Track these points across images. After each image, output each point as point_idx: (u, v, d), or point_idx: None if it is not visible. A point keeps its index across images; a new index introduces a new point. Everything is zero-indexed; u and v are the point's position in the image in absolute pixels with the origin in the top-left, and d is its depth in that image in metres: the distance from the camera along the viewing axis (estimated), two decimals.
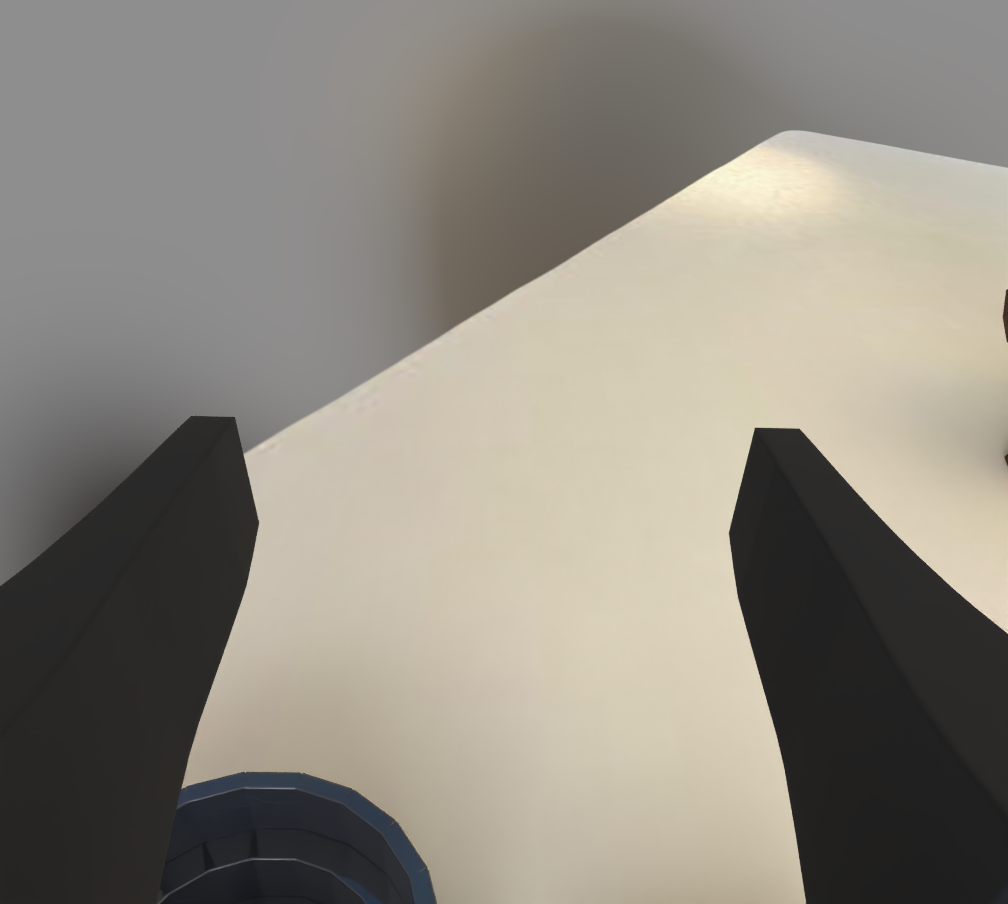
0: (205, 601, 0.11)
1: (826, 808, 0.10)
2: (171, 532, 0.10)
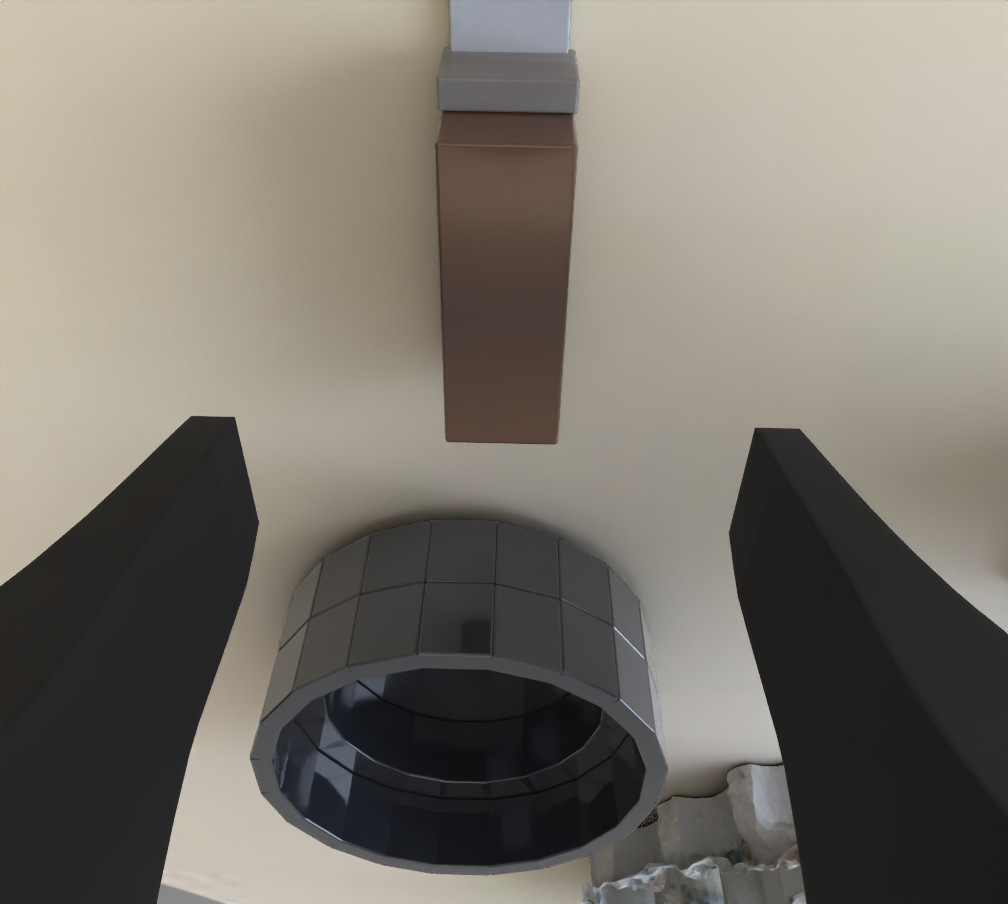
0: (205, 601, 0.11)
1: (826, 808, 0.10)
2: (171, 532, 0.10)
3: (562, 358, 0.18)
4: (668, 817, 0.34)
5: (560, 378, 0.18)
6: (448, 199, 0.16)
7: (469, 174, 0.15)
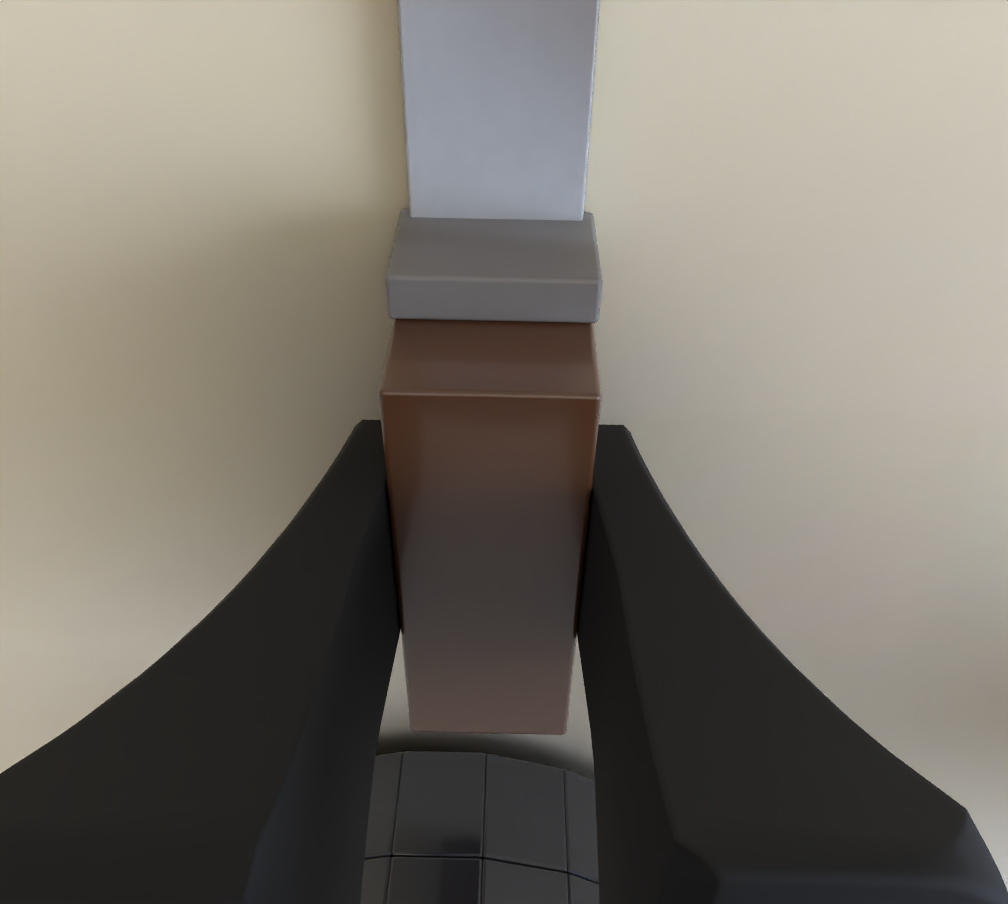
0: (388, 605, 0.11)
1: (607, 803, 0.10)
2: (374, 536, 0.10)
3: (574, 645, 0.12)
4: None
5: (570, 666, 0.13)
6: (403, 463, 0.10)
7: (433, 432, 0.10)
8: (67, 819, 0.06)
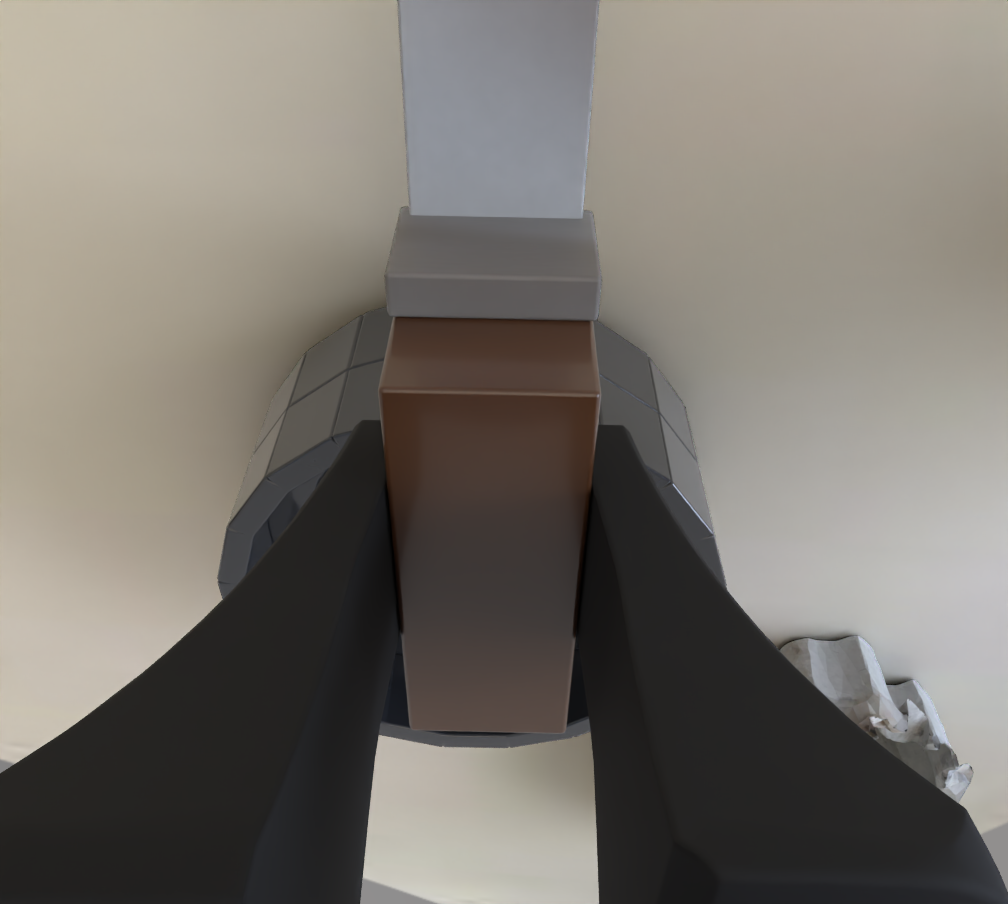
0: (387, 605, 0.11)
1: (607, 803, 0.10)
2: (374, 536, 0.10)
3: (573, 643, 0.12)
4: None
5: (570, 665, 0.13)
6: (402, 460, 0.10)
7: (433, 430, 0.10)
8: (68, 819, 0.06)
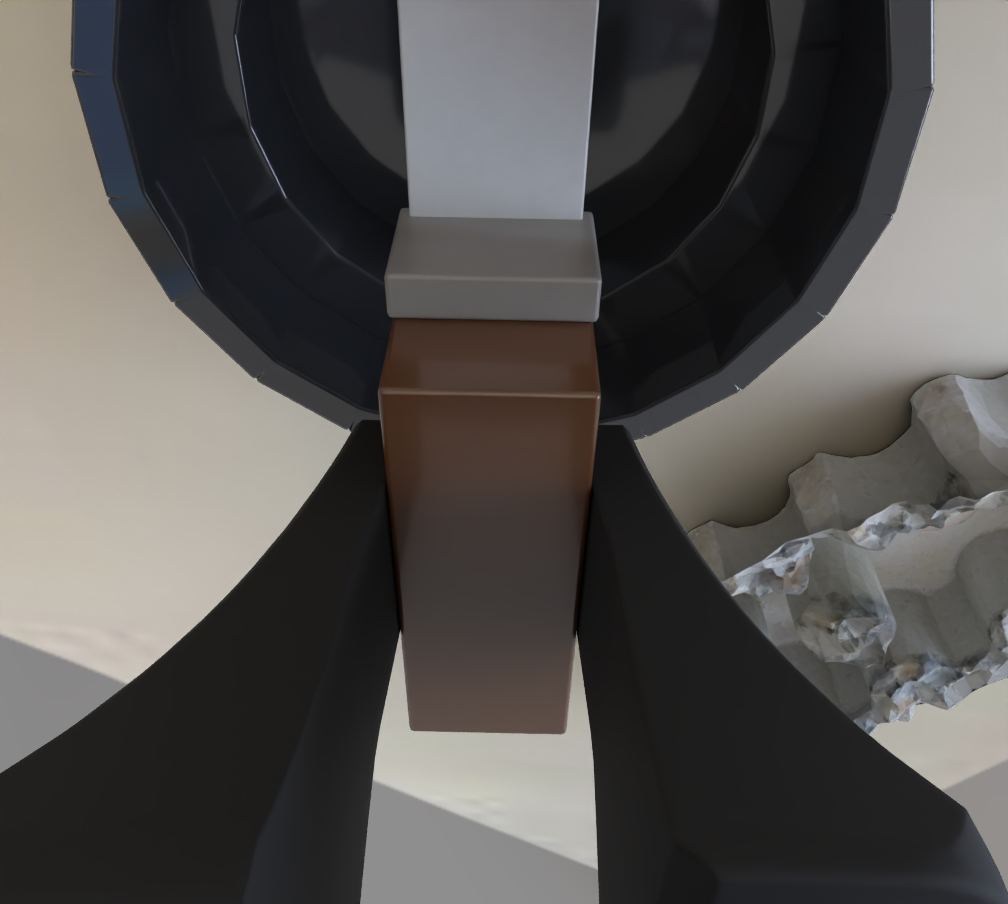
0: (388, 605, 0.11)
1: (607, 803, 0.10)
2: (374, 536, 0.10)
3: (573, 644, 0.12)
4: (812, 480, 0.22)
5: (570, 665, 0.13)
6: (402, 462, 0.10)
7: (433, 432, 0.10)
8: (68, 819, 0.06)
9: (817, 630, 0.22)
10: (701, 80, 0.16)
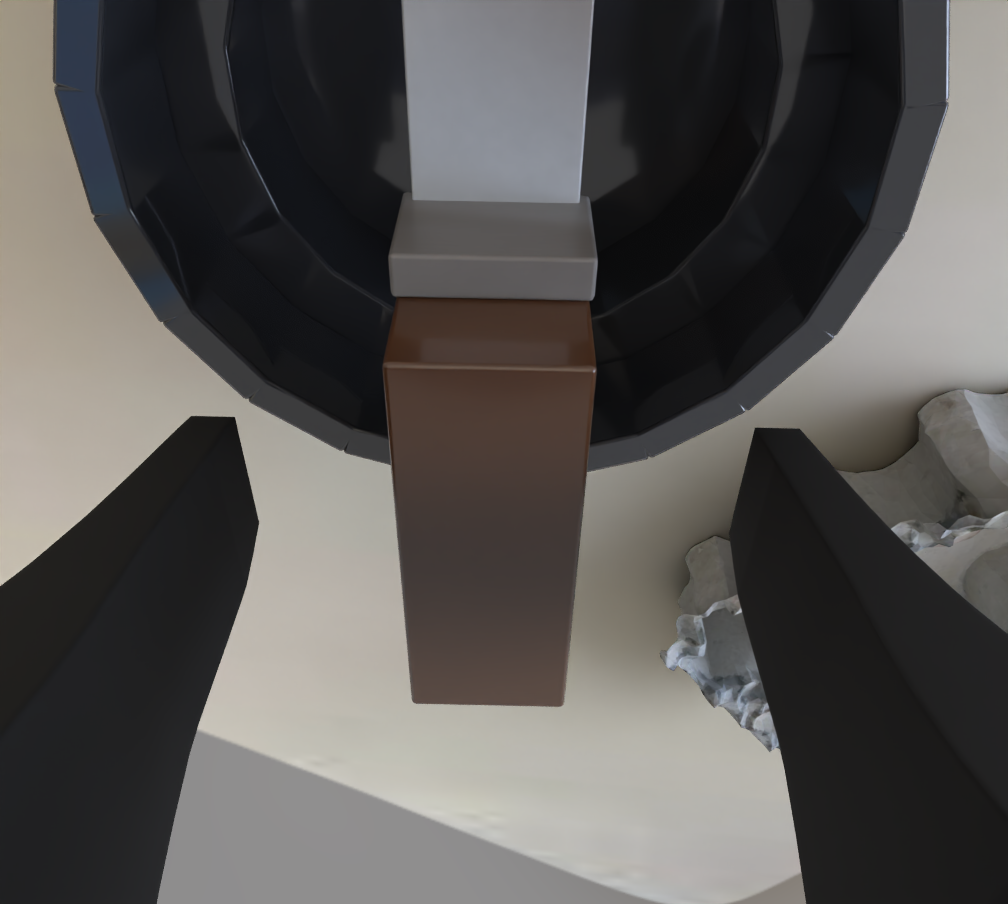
0: (205, 601, 0.11)
1: (826, 808, 0.10)
2: (171, 532, 0.10)
3: (571, 616, 0.13)
4: None
5: (568, 638, 0.13)
6: (405, 435, 0.11)
7: (435, 404, 0.10)
8: None
9: None
10: (705, 91, 0.15)
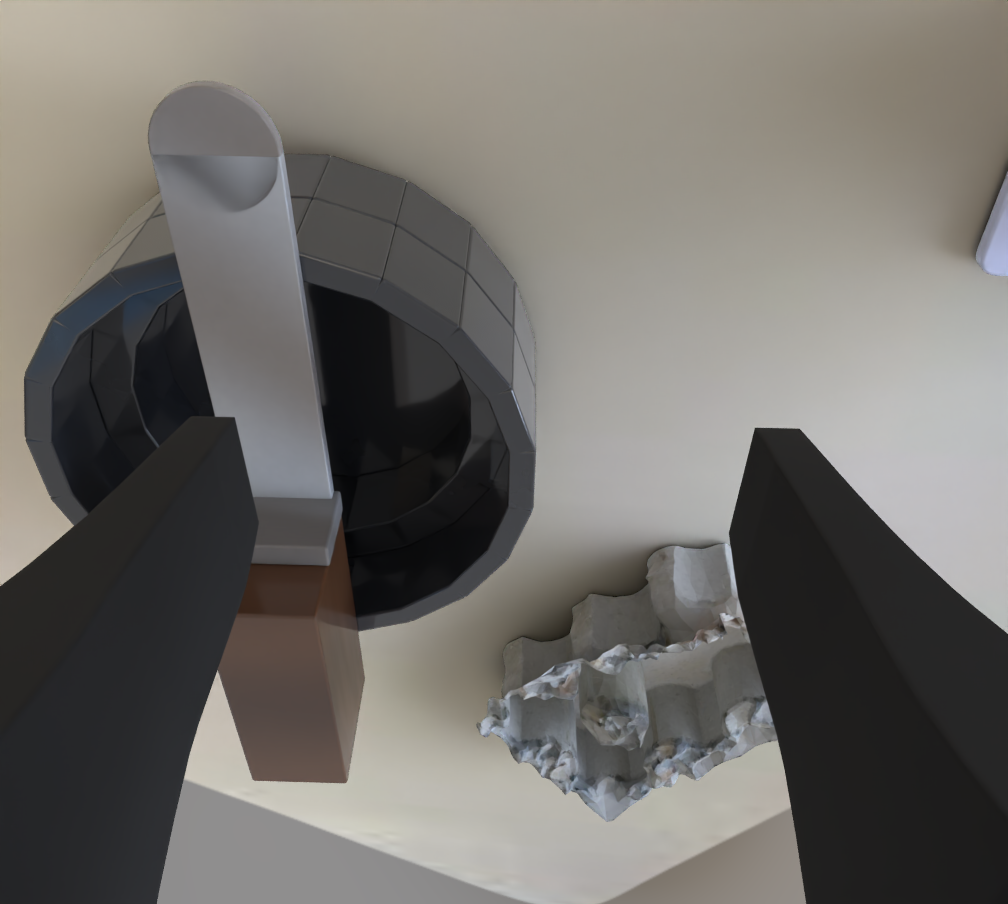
0: (205, 601, 0.11)
1: (826, 808, 0.10)
2: (171, 532, 0.10)
3: (337, 734, 0.21)
4: (582, 615, 0.29)
5: (338, 745, 0.21)
6: None
7: (232, 632, 0.19)
8: None
9: (592, 722, 0.30)
10: (453, 380, 0.24)
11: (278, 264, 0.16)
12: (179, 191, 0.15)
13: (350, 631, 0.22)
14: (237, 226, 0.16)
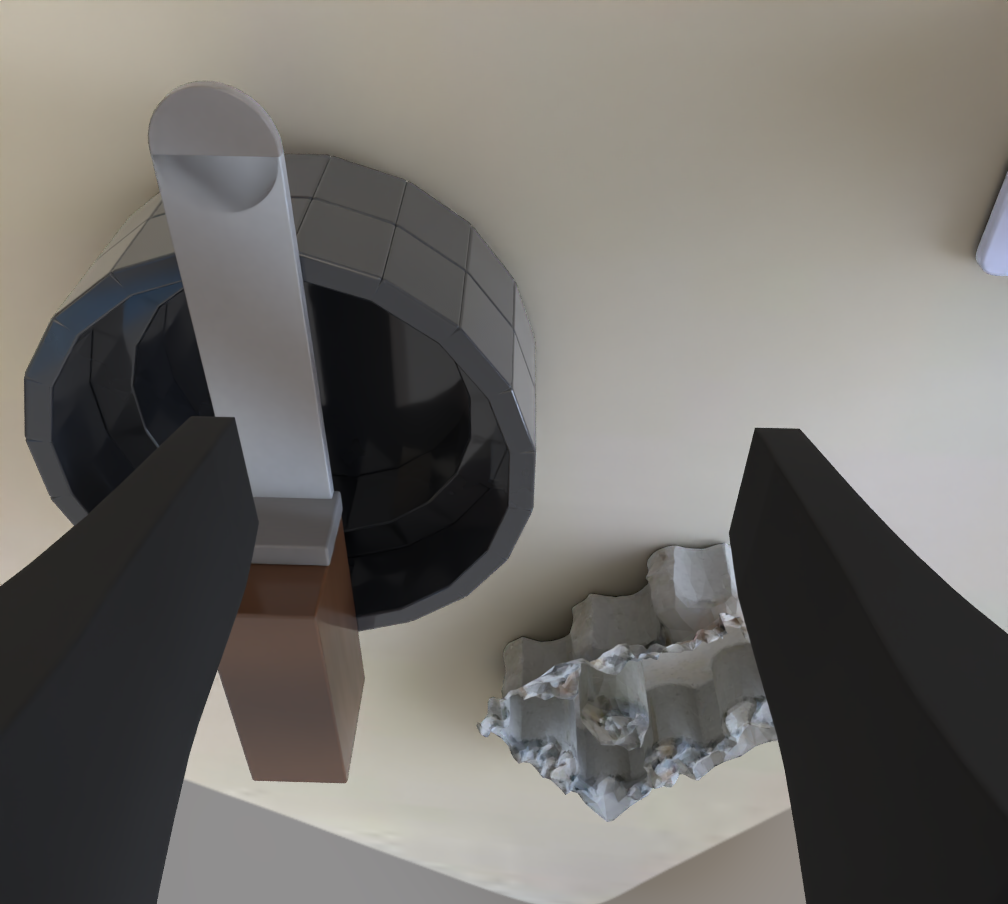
0: (205, 601, 0.11)
1: (826, 808, 0.10)
2: (171, 532, 0.10)
3: (337, 734, 0.21)
4: (582, 615, 0.29)
5: (338, 745, 0.21)
6: None
7: (232, 632, 0.19)
8: None
9: (592, 722, 0.30)
10: (453, 380, 0.24)
11: (278, 264, 0.16)
12: (179, 191, 0.15)
13: (350, 631, 0.22)
14: (237, 226, 0.16)
